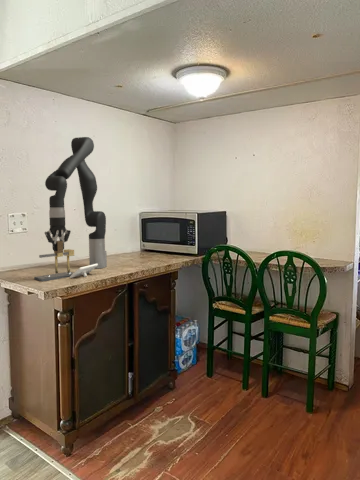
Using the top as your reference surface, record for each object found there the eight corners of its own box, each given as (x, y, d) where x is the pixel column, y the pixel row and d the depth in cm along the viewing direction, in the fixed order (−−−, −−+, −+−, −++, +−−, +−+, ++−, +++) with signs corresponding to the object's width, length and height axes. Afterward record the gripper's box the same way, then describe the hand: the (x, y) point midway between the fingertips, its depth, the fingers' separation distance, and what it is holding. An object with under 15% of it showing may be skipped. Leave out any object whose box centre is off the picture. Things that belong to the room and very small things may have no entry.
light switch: (83, 273, 186) (101, 269, 199) (78, 266, 187) (96, 262, 200) (73, 283, 190) (91, 277, 203) (68, 275, 190) (86, 270, 204)
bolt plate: (69, 273, 201) (69, 270, 201) (77, 275, 196) (77, 272, 196) (34, 279, 186) (34, 276, 186) (42, 281, 181) (42, 278, 181)
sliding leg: (58, 272, 193) (57, 240, 191) (63, 273, 190) (62, 240, 188) (53, 273, 190) (52, 240, 189) (58, 274, 187) (57, 241, 186)
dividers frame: (69, 271, 198) (68, 249, 197) (74, 272, 195) (74, 249, 194) (36, 276, 185) (35, 252, 184) (41, 278, 181) (40, 253, 180)
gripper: (65, 216, 194) (66, 248, 196) (40, 216, 184) (41, 251, 186) (73, 216, 189) (74, 250, 191) (48, 217, 179) (49, 252, 181)
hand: (58, 250), depth 188 cm, fingers closed on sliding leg, 3 cm apart
